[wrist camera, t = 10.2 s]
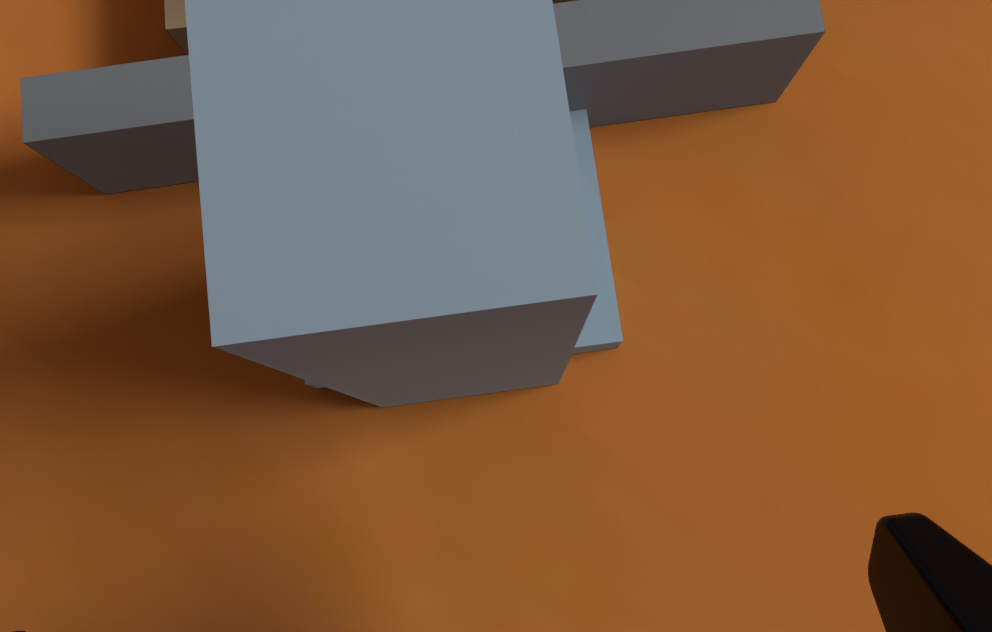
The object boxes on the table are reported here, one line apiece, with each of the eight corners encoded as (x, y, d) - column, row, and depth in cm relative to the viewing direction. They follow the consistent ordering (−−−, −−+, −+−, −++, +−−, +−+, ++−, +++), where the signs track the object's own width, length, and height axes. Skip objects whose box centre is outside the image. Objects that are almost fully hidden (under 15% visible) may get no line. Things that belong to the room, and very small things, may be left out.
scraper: (824, 348, 17) (1183, 214, 8) (119, 442, 17) (-360, 425, 8) (765, 47, 18) (1020, -391, 9) (101, 139, 18) (-341, -193, 9)
